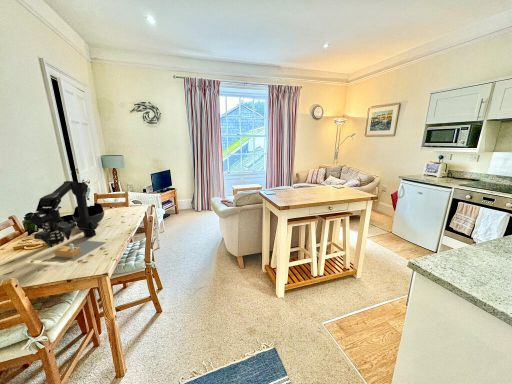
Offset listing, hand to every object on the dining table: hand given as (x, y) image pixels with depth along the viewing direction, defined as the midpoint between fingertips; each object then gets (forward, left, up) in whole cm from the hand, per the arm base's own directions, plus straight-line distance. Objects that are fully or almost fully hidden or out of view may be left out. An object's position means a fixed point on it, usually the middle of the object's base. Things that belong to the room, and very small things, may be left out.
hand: (60, 243), depth 122 cm
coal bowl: (-26, +43, -9) cm, 51 cm away
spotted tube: (-20, +12, -9) cm, 25 cm away
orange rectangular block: (+3, 0, -7) cm, 8 cm away
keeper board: (+5, +6, -9) cm, 12 cm away
